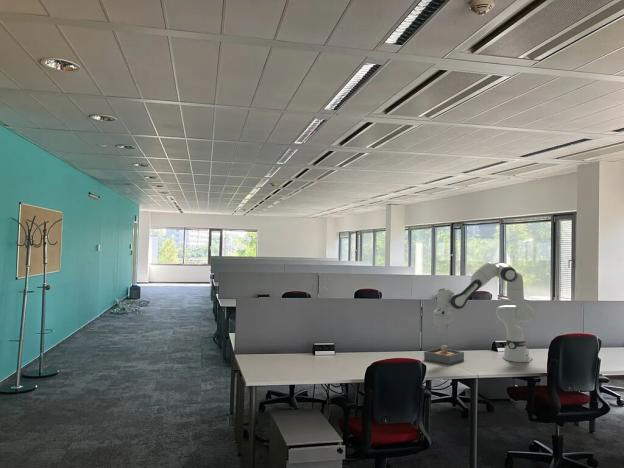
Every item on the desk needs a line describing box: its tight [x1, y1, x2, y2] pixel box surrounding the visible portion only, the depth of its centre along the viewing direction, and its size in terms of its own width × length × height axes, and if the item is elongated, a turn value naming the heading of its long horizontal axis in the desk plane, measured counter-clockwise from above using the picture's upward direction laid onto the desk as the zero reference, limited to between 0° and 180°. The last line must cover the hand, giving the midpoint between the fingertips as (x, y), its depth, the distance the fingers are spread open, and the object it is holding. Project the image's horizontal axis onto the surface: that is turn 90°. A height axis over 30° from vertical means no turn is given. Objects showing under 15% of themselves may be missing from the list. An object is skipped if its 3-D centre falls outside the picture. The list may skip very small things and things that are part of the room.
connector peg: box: [440, 345, 448, 355], centre depth 330 cm, size 4×4×9 cm
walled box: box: [423, 347, 465, 366], centre depth 330 cm, size 20×20×6 cm
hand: (443, 330), depth 332 cm, fingers open, 8 cm apart
